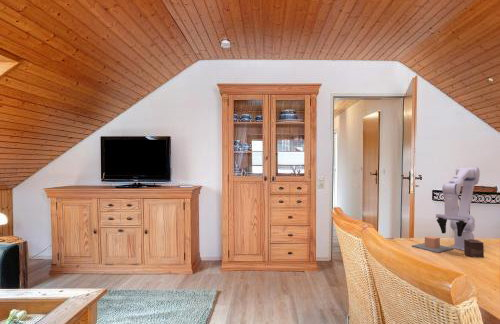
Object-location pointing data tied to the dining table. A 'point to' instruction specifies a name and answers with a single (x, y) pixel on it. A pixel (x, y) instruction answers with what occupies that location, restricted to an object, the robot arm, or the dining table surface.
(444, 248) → the mat
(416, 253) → the dining table surface
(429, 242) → the cube
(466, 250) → the box
